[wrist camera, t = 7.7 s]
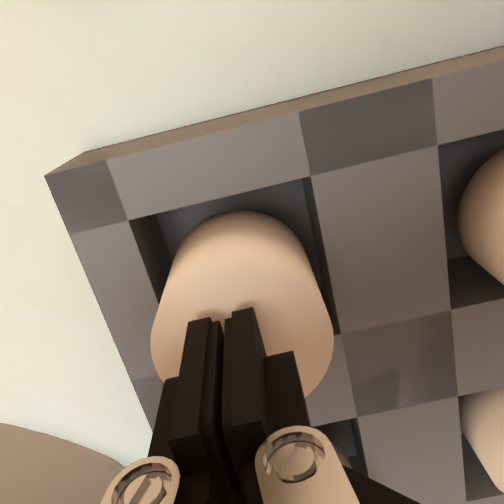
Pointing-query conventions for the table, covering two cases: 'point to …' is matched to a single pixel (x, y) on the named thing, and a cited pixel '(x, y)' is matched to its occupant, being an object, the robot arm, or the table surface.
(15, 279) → the table surface
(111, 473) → the lumpy-topped squat cylinder
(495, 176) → the button
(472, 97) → the button board
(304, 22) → the table surface
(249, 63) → the table surface
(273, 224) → the button
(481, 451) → the button
